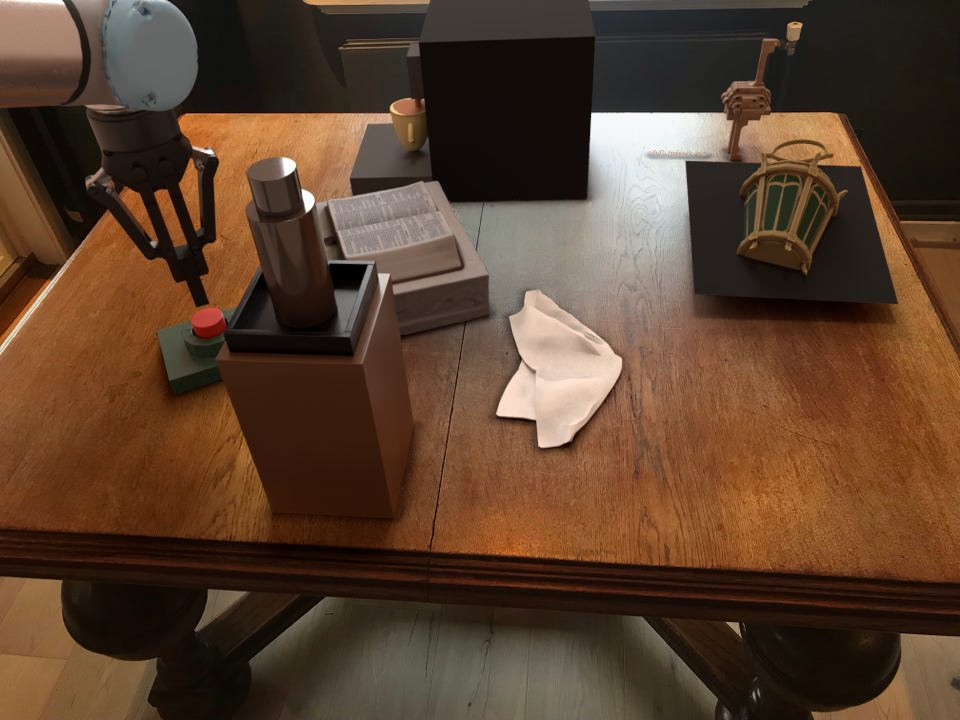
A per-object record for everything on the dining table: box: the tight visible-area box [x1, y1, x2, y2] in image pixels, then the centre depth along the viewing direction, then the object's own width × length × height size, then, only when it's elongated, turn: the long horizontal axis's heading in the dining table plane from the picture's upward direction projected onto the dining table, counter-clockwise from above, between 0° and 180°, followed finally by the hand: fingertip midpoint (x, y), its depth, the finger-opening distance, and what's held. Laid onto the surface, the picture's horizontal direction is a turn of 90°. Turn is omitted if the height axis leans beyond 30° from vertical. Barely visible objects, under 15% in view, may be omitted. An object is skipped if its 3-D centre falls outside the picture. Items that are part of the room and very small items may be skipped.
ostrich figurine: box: [649, 38, 781, 161], centre depth 117 cm, size 17×7×18 cm, turn 84°
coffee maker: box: [349, 0, 596, 203], centre depth 114 cm, size 18×35×24 cm, turn 88°
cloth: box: [495, 288, 623, 449], centre depth 88 cm, size 26×14×2 cm, turn 172°
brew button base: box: [156, 305, 238, 395], centre depth 91 cm, size 12×10×4 cm
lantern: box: [684, 138, 899, 305], centre depth 99 cm, size 14×23×30 cm
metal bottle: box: [245, 156, 338, 329], centre depth 60 cm, size 5×5×13 cm
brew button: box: [190, 307, 226, 339], centre depth 90 cm, size 4×4×2 cm
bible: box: [316, 181, 491, 336], centre depth 99 cm, size 23×27×10 cm
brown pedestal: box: [215, 260, 415, 520], centre depth 71 cm, size 12×12×22 cm
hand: (200, 299), depth 87 cm, fingers closed
